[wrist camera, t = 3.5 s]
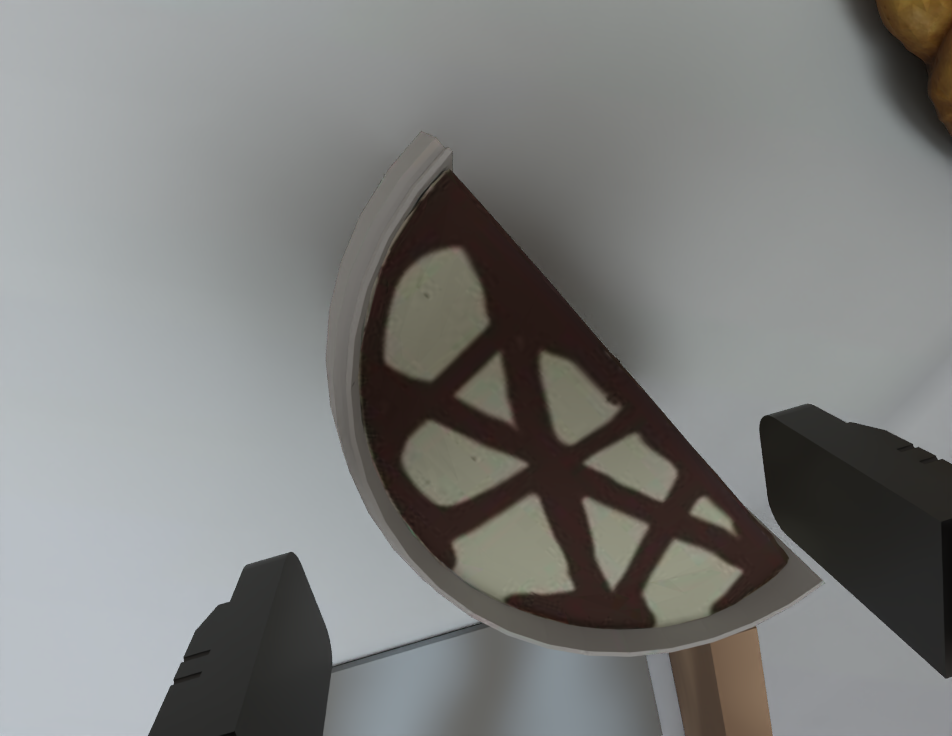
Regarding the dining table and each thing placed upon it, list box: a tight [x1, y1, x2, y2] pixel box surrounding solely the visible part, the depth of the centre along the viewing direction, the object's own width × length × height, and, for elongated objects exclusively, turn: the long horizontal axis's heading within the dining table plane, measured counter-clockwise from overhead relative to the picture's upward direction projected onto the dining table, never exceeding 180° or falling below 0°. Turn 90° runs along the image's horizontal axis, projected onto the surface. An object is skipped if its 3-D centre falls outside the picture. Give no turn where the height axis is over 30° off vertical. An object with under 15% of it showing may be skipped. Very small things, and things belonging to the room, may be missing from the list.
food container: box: [326, 131, 825, 657], centre depth 16 cm, size 12×6×10 cm, turn 42°
